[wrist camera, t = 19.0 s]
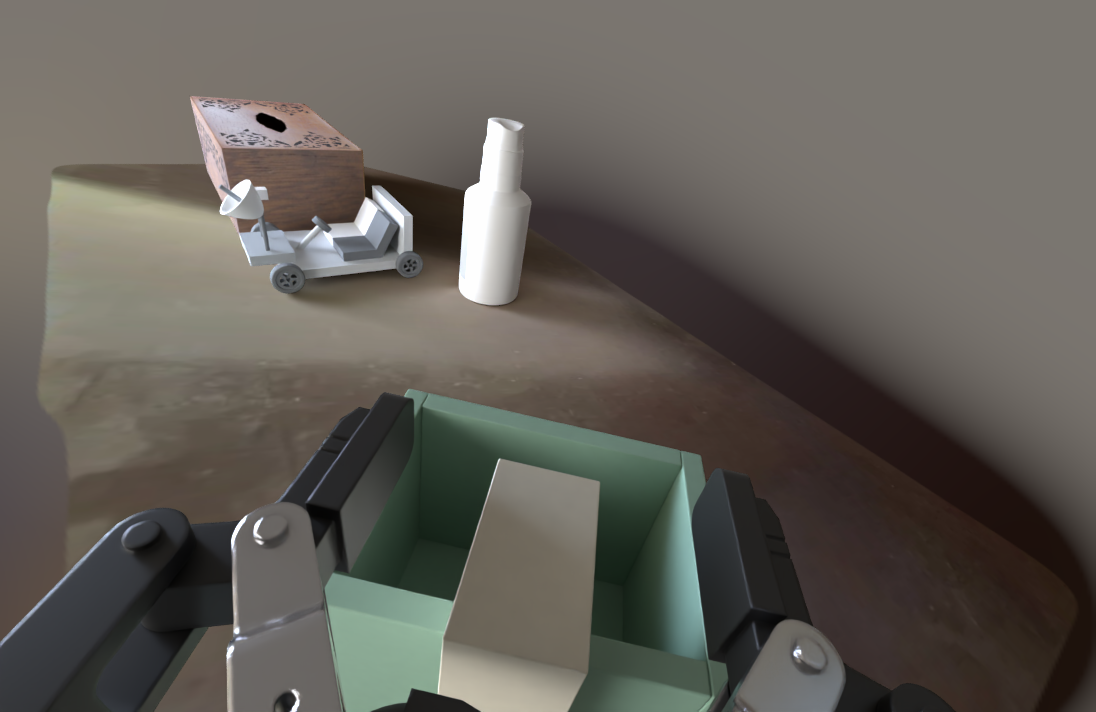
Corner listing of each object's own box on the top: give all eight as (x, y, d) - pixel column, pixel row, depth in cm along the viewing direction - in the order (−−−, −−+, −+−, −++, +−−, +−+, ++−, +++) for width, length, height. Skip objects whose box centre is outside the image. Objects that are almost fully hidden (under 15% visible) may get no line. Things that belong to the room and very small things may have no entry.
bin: (635, 581, 28) (701, 454, 22) (639, 807, 20) (747, 706, 13) (408, 528, 28) (408, 387, 22) (317, 728, 20) (276, 593, 14)
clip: (470, 636, 20) (498, 457, 13) (539, 652, 20) (600, 481, 13) (428, 792, 16) (442, 639, 9) (516, 814, 15) (588, 674, 9)
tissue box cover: (207, 171, 70) (189, 96, 64) (311, 170, 78) (304, 103, 72) (240, 239, 54) (221, 148, 48) (366, 229, 62) (362, 150, 57)
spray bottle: (505, 276, 58) (525, 117, 48) (526, 304, 53) (554, 134, 43) (451, 279, 55) (461, 110, 45) (468, 308, 50) (484, 127, 40)
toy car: (219, 196, 39) (203, 156, 46) (243, 299, 44) (225, 249, 52) (424, 191, 49) (385, 159, 56) (423, 276, 54) (387, 237, 61)
